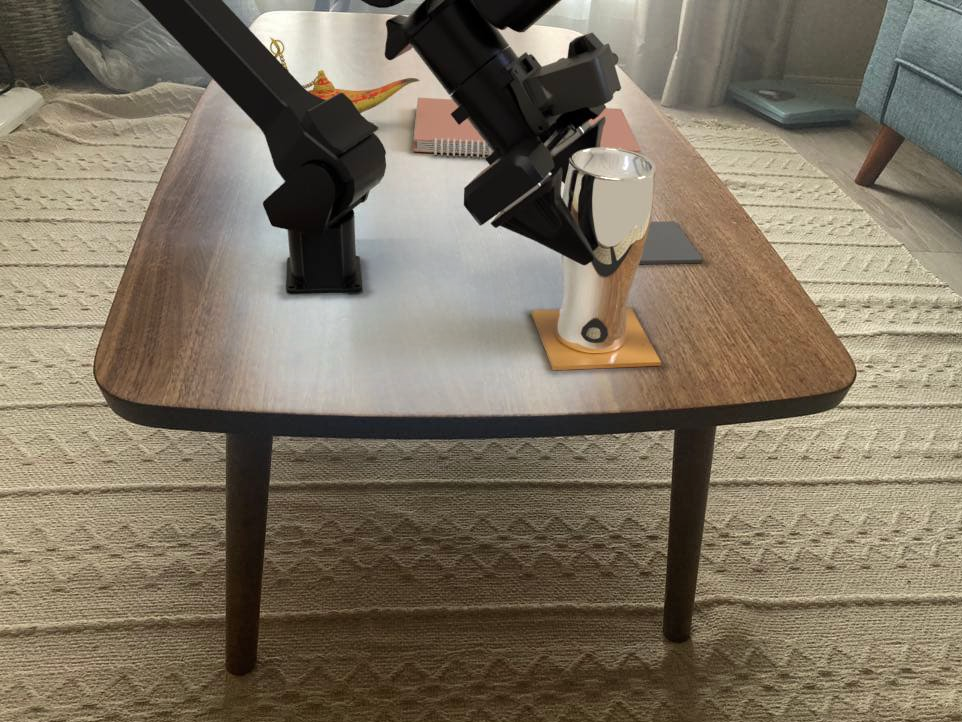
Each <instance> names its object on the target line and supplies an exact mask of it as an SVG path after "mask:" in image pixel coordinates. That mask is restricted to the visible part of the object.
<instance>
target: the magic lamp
mask: <svg viewBox="0 0 962 722" xmlns="http://www.w3.org/2000/svg"><path fill="white" fill-rule="evenodd" d="M269 39H270V40H271V42H270V45H269V51H270V52H271V53H272V54H273V55H274V56H275V57H276V59H278V57H279V62H280V63H281V64H282V65H283V66H284V67H285V68H286V69H287V70H288V71H289V69H288V66H287V63H286V62H285V61H286V60H285V58H284V57H285V56H284V54H283V53H284V52H285V45H284V42H283V41H282V40H280V39H274V38H273V37H271V36H269ZM279 43H280V44H281V46H282V49H281V48H280V45H279ZM273 45H274V47H275V49H276V52H274V50H273V47H272V46H273ZM289 73H290V74H291V72H290V71H289ZM420 81H421V80H420V79H419V78H417V77H406V78H402V79H398V80H396V81H393V82H390V83H388V84H386V85H383V86H380V87H378V88H377V87H376V88H373V89H367V90H366V89H365V90H349V89H342V88H336V87H335V85H334V83H333V82H332V81H330V80H329V79H328V78H327V76H326V74H325V72H324V70H322V69H320V70H318V71H317V76H316V77H315V78H314V79H313V80H312V81H311V82H309V83H306V84H304V85H303V84H302V86H303V88H305V89H309V88H310V87H313V88H312V89H309V90H307V91H308V92H310V93H311V94H313V95H315V96H317V97H320V98H322V99H324V100H328V99H330V98H331V97H333V96H335V95H337V94H339V93H343V94H345V95H346V96H347V97H348V98H349V99H350V100H351V101H352V103H353V104H354V106H355V107H356V108H357V110H358V111H359V113H360V114H362V113H364V112H366V111H369V110H371V109H373V108H376V107H377V106H379V105H381V104H382V103H384V102H385V101H386V100H388V99H390V98H391V97H392V96H393V95H395V94H396V93H397V92H398V91H400V90H402V89H403V88H404V87H407V86H408V85H409V84H413V83H416V82H420Z"/></svg>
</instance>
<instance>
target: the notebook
mask: <svg viewBox="0 0 962 722" xmlns="http://www.w3.org/2000/svg"><path fill="white" fill-rule="evenodd" d="M457 108H458V106H457V105H456V103H455V102H454V101H453V99H452V98H436V97H435V98H433V97H417V103H416V112H415V121H414V131H413V152H417V153H419V152H420V153H433V154H434V156H437V153H439V154H440V156H443V155H444V154H446V157H449V156H450V154H452V157H455V156H456V154H458V157H461V156H462V155H464V157H465V158H466V157H468V155H470V157H472V158H474V155H476V158H479V157H480V155H481V156H482V158H483V159H485V158H486V156H487V157H488V156H489V155H490V154H491V153H492V150H491V149H490V148H489V146H488V145H487V144H486V142H485V141H484V140H483V138H482V137H481V136H480V135H479V133H478V132H477V131H476V129H475V128H474V127H473V125H472V124H471V123H470V122H469V120H468V119H466V120H465V121H464V122H462V123H461V124H460V125H458V123H457V122H456V121H455V119H454V118H453V117H452V115H451V113H452V112H453V111H454V110H456V109H457ZM624 113H625V112H624V111H623V109H622V108H616V107H615V108H613V107H612V108H611V107H606V108H605V109H604V110H603V112H602V113H601V114H600V115H599V116H598V117H597V118H595V119H594V120H592V119H590V120H589V121H588V122H589V123H590V124H591V125H593V124H594V123H595V122H597V121H598V120H599V119H601V118H602V117H604V116H605V119H606V121H605V124H604V127H603V132H602V137H601V143H600V147H608V148H618V149H624V150H628V151H632V152H635V153H641V151H642V150H641V148H640V145H639V144H638V142H637V140H636V138H635V134H634V133H633V131H632V129H631V127H630V124H629V122H628V119H627V118H626V116H625V114H624Z"/></svg>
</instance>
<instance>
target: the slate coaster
mask: <svg viewBox="0 0 962 722" xmlns="http://www.w3.org/2000/svg"><path fill="white" fill-rule="evenodd" d="M668 264H669V265H672V264H673V265H674V264H703V258H702V256H701V254H699V252H698V251H697V250H696V248H695V247H694V246H693V244H692V243H691V241H689V239H688V237H687V236H686V234H685V233H684V232H683V231H682V229H681V228H680V226H679V225H678V223H676V221H650V227H649V232H648V237H647V240H646V244H645V247H644V251H643V254H642V257H641V260H640V262H639V265H668Z"/></svg>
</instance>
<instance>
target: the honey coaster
mask: <svg viewBox="0 0 962 722" xmlns="http://www.w3.org/2000/svg"><path fill="white" fill-rule="evenodd" d="M559 311H560V308H559V309H532V310H531V316H532V319H533V322H534V324H535V327H536V329H537V332H538V335H539V338H540V340H541V342H542V346H543V348H544V351H545V353H546V357H547V359H548V360H549V364H550V366H551V370H552V371H569V370H592V369H613V368H614V369H615V368H637V367H638V368H639V367H660V366H661V365H662V361H661V359H660V357H659V355H658V353H657V352H656V350H655V348H654V347H653V345H652V343H651V341H650V340H649V339H650V338H648V335H647V334H646V332H645V330H644V329H643V326H642V325H641V323H640V321H639V319H638V318H637V316H636V314H635V312H634V310H633V308H632V307H629V306H627V308H626V322H627V339H626V341H625V343H624V345H623V346H622V347H620V348H619V349H617V350H615V351H612V352H607V353H585V352H580V351H577V350H574V349H571V348H569V347H567V346H565V345H564V344H562V343H561V342H560V341H559V340H558V339H557V337H556V335H555V324H556V321H557V317H558V314H559Z"/></svg>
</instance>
